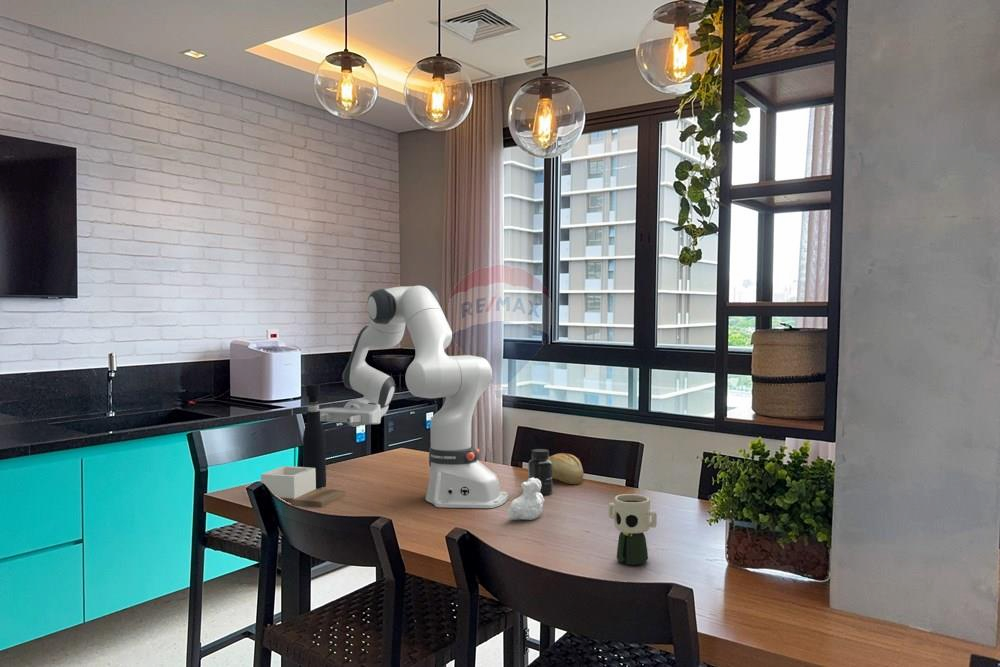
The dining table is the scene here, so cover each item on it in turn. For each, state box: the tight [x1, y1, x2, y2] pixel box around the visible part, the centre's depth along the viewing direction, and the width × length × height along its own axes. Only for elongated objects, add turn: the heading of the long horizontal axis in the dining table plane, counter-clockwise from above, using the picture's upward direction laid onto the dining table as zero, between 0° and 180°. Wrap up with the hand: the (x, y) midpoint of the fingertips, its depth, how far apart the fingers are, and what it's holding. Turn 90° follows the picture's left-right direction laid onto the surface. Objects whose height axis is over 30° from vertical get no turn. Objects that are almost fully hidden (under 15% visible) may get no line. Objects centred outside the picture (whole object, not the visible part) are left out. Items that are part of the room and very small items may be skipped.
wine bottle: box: [302, 384, 327, 489], centre depth 206 cm, size 6×6×30 cm
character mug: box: [608, 493, 658, 565], centre depth 141 cm, size 11×7×13 cm, turn 49°
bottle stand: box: [260, 465, 346, 508], centre depth 192 cm, size 20×12×8 cm, turn 73°
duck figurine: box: [507, 477, 545, 521], centre depth 171 cm, size 12×8×11 cm
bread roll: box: [548, 452, 584, 485], centre depth 210 cm, size 10×15×8 cm, turn 41°
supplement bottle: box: [527, 448, 554, 496], centre depth 196 cm, size 7×7×12 cm
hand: (335, 419), depth 217 cm, fingers open, 8 cm apart
